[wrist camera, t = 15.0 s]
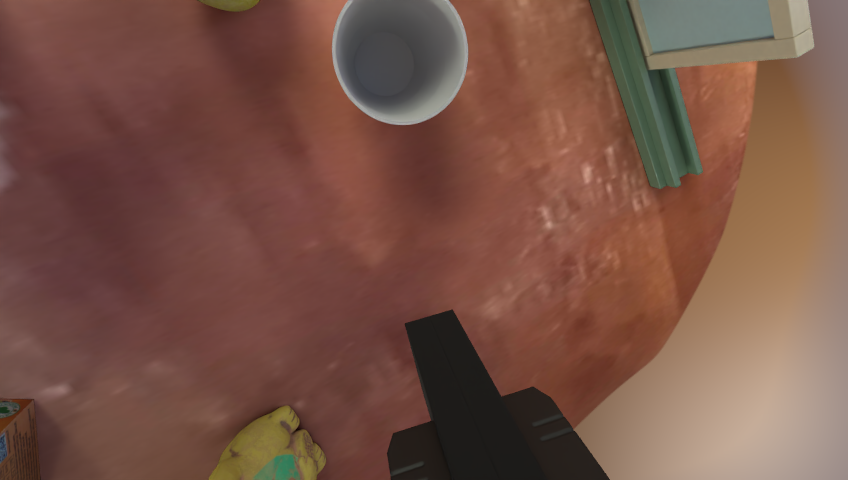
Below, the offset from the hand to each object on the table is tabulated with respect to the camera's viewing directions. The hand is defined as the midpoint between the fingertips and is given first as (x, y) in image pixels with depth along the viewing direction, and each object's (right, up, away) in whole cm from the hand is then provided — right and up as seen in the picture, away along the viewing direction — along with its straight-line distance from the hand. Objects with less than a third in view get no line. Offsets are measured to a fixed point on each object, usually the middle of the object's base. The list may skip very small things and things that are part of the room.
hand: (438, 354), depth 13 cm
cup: (-4, +18, +22) cm, 28 cm away
